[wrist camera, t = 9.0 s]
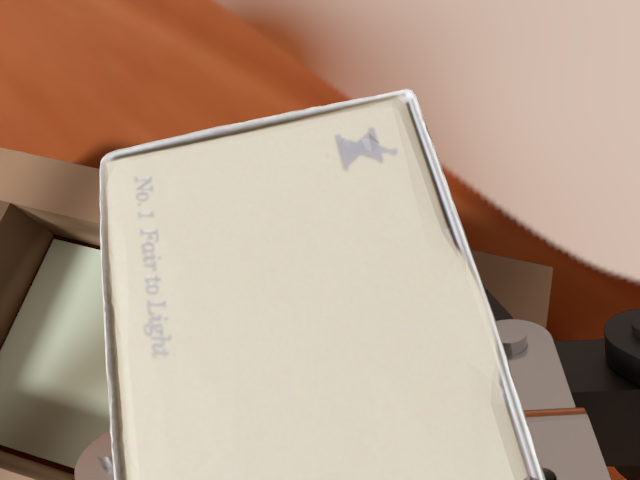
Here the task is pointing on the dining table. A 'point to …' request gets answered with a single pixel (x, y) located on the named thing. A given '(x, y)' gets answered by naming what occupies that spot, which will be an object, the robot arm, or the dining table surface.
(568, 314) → the dining table surface
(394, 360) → the skincare box
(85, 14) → the dining table surface
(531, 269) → the wooden compartment tray
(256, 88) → the dining table surface
